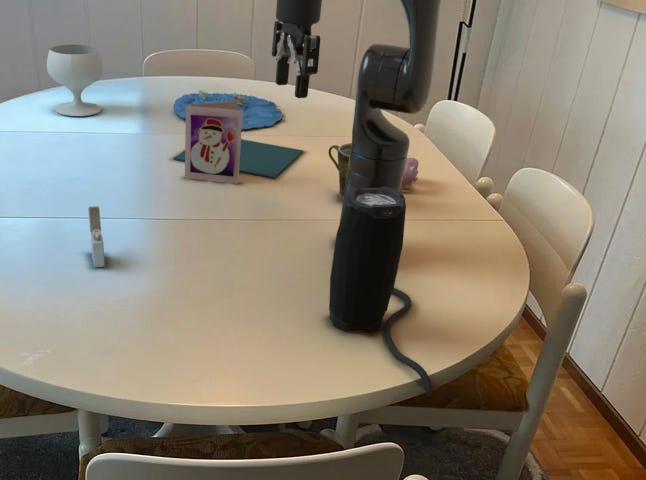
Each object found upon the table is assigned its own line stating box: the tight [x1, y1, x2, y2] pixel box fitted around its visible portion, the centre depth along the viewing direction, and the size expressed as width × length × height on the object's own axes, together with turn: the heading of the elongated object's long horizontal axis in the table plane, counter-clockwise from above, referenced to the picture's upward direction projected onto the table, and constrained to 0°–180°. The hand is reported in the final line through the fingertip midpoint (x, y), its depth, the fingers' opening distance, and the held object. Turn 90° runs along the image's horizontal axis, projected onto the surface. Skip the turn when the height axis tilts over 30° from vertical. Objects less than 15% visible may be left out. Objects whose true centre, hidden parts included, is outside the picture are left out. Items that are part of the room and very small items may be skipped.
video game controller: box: [401, 155, 419, 190], centre depth 151 cm, size 10×5×7 cm, turn 168°
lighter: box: [87, 206, 106, 268], centre depth 116 cm, size 7×2×8 cm, turn 13°
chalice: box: [46, 44, 104, 117], centre depth 182 cm, size 14×14×15 cm
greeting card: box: [184, 101, 243, 185], centre depth 148 cm, size 11×7×15 cm, turn 80°
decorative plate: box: [173, 90, 283, 130], centre depth 190 cm, size 30×30×5 cm
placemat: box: [173, 138, 304, 180], centre depth 163 cm, size 20×24×1 cm
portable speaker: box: [328, 187, 407, 333], centre depth 100 cm, size 9×9×20 cm
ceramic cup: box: [328, 142, 352, 202], centre depth 143 cm, size 13×10×10 cm
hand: (290, 90), depth 128 cm, fingers open, 8 cm apart
